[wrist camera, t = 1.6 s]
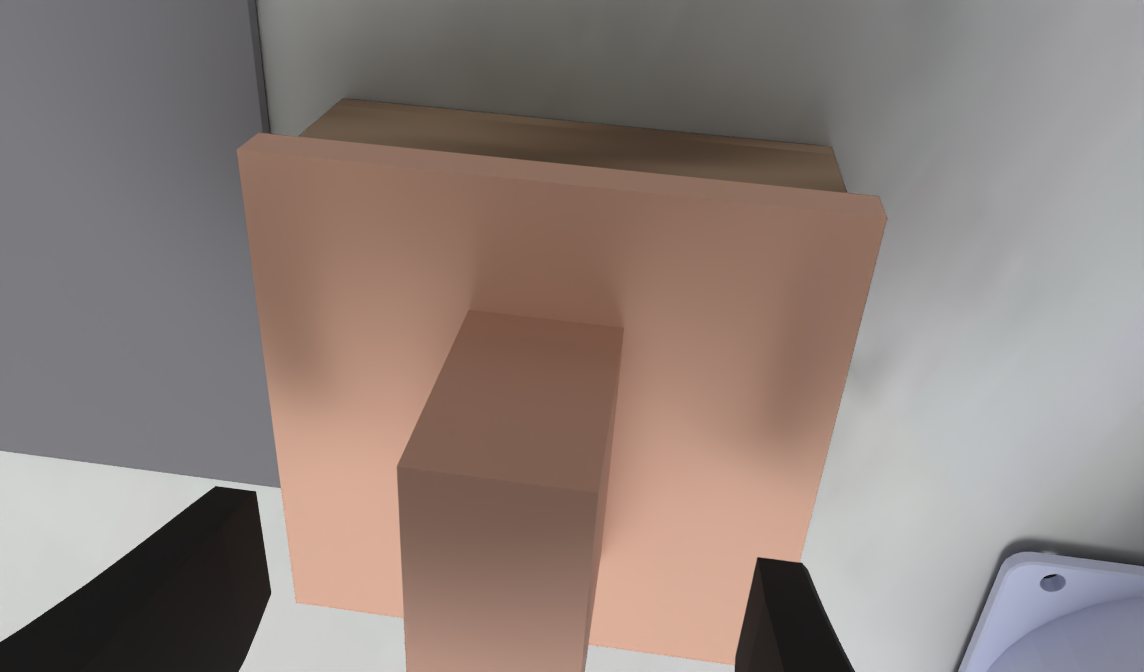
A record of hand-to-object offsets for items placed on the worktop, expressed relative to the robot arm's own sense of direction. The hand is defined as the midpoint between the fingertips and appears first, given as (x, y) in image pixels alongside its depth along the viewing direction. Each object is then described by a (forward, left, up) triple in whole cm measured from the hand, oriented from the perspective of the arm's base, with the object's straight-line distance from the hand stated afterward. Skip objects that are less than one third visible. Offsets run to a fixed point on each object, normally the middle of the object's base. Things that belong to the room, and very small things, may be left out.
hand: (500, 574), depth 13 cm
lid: (0, 0, -4) cm, 4 cm away
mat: (+12, -1, -7) cm, 14 cm away
